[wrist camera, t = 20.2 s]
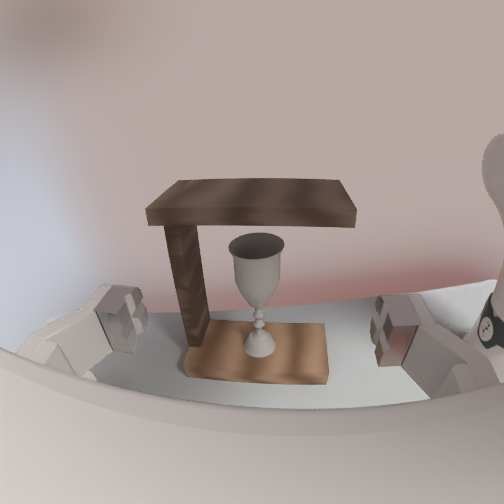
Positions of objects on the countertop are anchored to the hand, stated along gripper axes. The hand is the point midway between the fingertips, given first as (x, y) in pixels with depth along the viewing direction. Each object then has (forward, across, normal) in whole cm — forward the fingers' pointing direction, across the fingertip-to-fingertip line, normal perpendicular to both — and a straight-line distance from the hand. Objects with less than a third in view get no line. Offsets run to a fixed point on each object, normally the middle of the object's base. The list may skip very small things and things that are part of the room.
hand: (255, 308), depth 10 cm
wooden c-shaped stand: (+26, +3, +32) cm, 41 cm away
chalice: (+25, +3, +29) cm, 39 cm away
